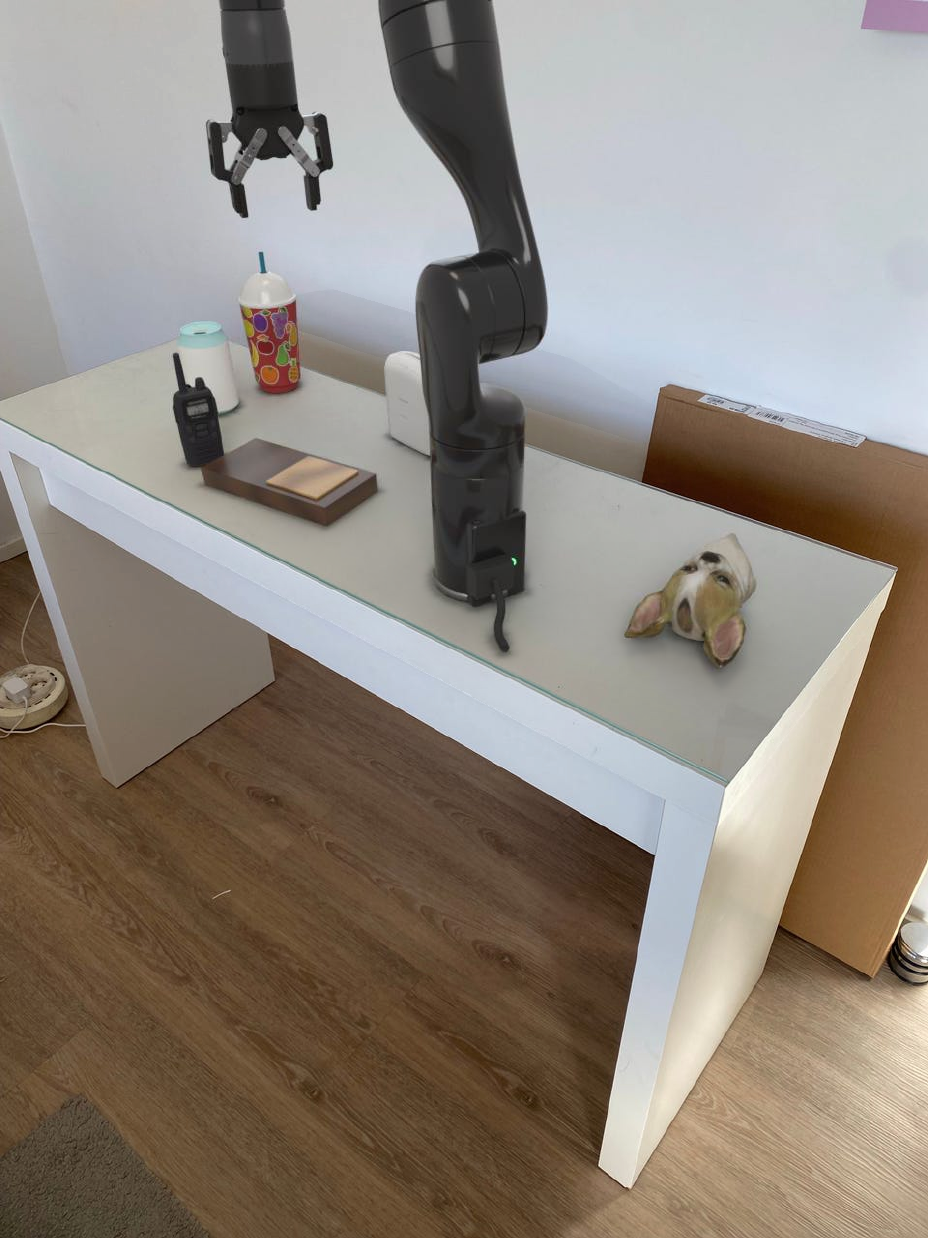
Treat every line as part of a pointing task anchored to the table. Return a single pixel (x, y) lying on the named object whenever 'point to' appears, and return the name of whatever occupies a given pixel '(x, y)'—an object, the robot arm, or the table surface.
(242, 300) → the smoothie
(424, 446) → the photo printer
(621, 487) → the table surface
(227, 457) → the walnut board
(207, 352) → the can
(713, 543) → the ceramic sculpture
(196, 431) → the two-way radio
